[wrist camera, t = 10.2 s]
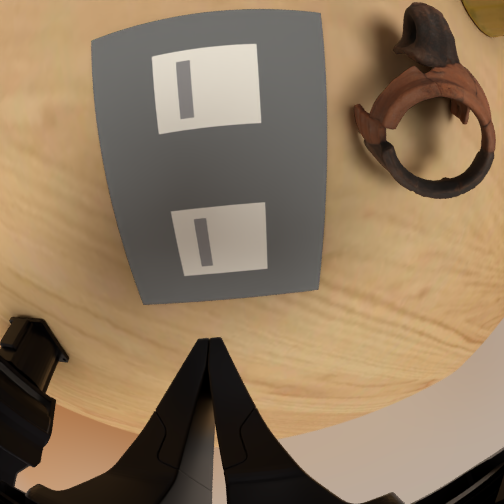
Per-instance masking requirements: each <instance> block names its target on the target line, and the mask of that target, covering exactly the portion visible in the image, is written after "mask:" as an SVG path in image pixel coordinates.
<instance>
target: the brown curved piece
mask: <svg viewBox="0 0 504 504" xmlns="http://www.w3.org/2000/svg"><path fill="white" fill-rule="evenodd" d="M393 51H394V52H395V53H396V54H406V55H407V56H408V57H410V58H411V59H413V60H415V61H416V62H418V63H419V64H421V65H424V66H430V67H433V69H431V71H429V72H427V73H425V74H424V73H422V72H421V71H420V70H419V69H418V68H417V67H416V66H412V67H410V68H408V69H407V70H406V71H404V72H403V73H402V74H400V76H398V77H396V78H395V79H394V80H392V81H391V82H390V84H389V85H388V86H387V87H386V88H385V90H384V91H383V92H382V93H381V94H380V95H379V96H378V98H377V99H376V101H375V102H374V104H373V107H372V109H371V111H370V114H369V113H367V112H366V111H365V110H364V108H363V107H362V106H361V105H360V104H357V105H355V106H354V113H355V120H356V124H357V126H358V129H359V133H360V134H361V135H362V137H363V138H364V143H365V146H366V147H367V148H368V150H369V151H370V152H371V153H372V155H373V156H374V157H375V158H376V159H377V160H378V161H379V163H380V164H381V165H382V166H383V167H384V168H385V169H387V170H388V171H389V172H390V173H391V175H392V176H393V177H394V179H395V180H396V181H397V182H398V183H399V184H400V185H402V186H403V187H405V188H407V189H408V190H410V191H414V192H415V193H416V194H419V195H421V196H423V197H430V198H435V199H446V198H452V197H457V196H459V195H460V194H464V193H466V192H468V191H470V190H471V189H473V188H475V186H477V185H478V184H479V183H480V182H481V181H482V180H483V179H484V177H485V176H486V174H487V173H488V171H489V169H490V167H491V165H492V162H493V159H494V150H495V143H496V139H495V130H494V126H493V123H492V119H491V112H490V107H489V104H488V101H487V98H486V96H485V93H484V91H483V89H482V88H481V86H480V85H479V83H478V81H477V80H476V79H475V78H474V76H473V75H472V74H471V73H470V72H469V71H468V69H466V68H465V67H463V66H462V65H461V64H460V62H459V59H458V55H457V51H456V46H455V39H454V36H453V34H452V32H451V30H450V28H449V25H448V23H447V21H446V20H445V18H444V17H443V14H442V13H441V12H440V11H438V10H437V9H435V8H434V7H432V6H429V5H427V4H425V3H417V2H414V3H412V4H411V5H410V6H409V7H408V8H407V9H406V11H405V14H404V21H403V35H402V38H401V40H400V41H399V43H398V44H397V45H396V46H395V47H394V49H393ZM439 96H442V97H447V98H451V101H452V103H451V113H452V114H453V115H455V116H456V117H458V118H459V119H460V120H461V122H462V123H463V124H467V122H468V118H469V112H470V110H471V111H472V112H473V113H474V114H475V116H476V117H477V119H478V121H479V124H480V126H481V132H482V140H481V149H480V152H478V153H477V155H476V157H475V159H474V160H473V162H472V164H471V165H470V167H469V168H468V169H467V170H466V171H465V172H464V173H462V174H461V175H459V176H457V177H454V178H446V177H445V178H442V179H441V180H437V181H432V180H426V179H422V178H420V177H417V176H415V175H413V174H412V173H410V172H409V171H408V170H407V169H406V168H404V167H403V165H402V164H401V163H400V161H399V160H398V158H397V156H396V153H395V150H394V147H393V145H392V144H391V143H389V142H387V141H386V128H388V129H396V127H397V125H398V123H399V122H400V120H401V119H402V117H403V116H404V114H405V113H406V112H407V110H408V109H410V108H411V107H412V106H414V105H415V104H417V103H419V102H421V101H423V100H426V99H430V98H434V97H439Z"/></svg>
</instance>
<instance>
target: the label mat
mask: <svg viewBox="0 0 504 504" xmlns="http://www.w3.org/2000/svg"><path fill="white" fill-rule="evenodd" d="M91 51H92V77H93V91H94V102H95V112H96V120H97V128H98V135H99V141H100V147H101V153H102V159H103V164H104V169H105V174H106V179H107V184H108V188H109V193H110V197H111V201H112V206H113V210H114V214H115V217H116V221H117V225H118V229H119V232H120V236H121V239H122V243H123V246H124V249H125V252H126V256H127V259H128V262H129V265H130V268H131V271H132V274H133V277H134V280H135V283H136V286H137V288H138V291H139V294H140V297H141V299H142V302H143V305H149V304H168V303H184V302H199V301H212V300H225V299H236V298H247V297H258V296H268V295H277V294H286V293H295V292H304V291H312V290H318V289H319V280H320V270H321V259H322V248H323V235H324V220H325V202H326V177H327V95H326V72H325V56H324V42H323V31H322V21H321V13H316V12H307V11H296V10H278V9H243V10H225V11H214V12H204V13H197V14H190V15H183V16H178V17H172V18H167V19H162V20H158V21H153V22H149V23H145V24H141V25H137V26H134V27H130V28H127V29H124V30H120V31H117V32H114V33H111V34H108V35H105V36H103V37H100V38H97V39H95V40H92V41H91Z"/></svg>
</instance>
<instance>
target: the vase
mask: <svg viewBox="0 0 504 504" xmlns="http://www.w3.org/2000/svg"><path fill="white" fill-rule="evenodd" d="M462 2H463V4H464V6H465V8H466V10H467V12H468V14H469V15H470V17H471V18H472V20H473V21H474V23H475V24H476V25H477V26H478V27H479V29H480V30H481V31H483V32H484V33H485V34H486V35H488V36H490V37H499V36H504V0H462Z"/></svg>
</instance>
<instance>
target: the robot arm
mask: <svg viewBox="0 0 504 504" xmlns="http://www.w3.org/2000/svg"><path fill="white" fill-rule="evenodd" d="M9 321H10V323H11V325H10V327H9V328H8V330H7V332H6V333H5V335H4V336H3V338H2V340H1V342H0V345H1V348H0V504H212V480H213V454H214V433H215V425H216V432H217V438H218V444H219V449H220V455H221V460H222V466H223V470H224V476H225V483H226V495H227V504H352V503H348V502H346V501H344V500H342V499H340V498H339V497H338V496H336V495H335V494H333V493H332V492H330V491H329V490H328V489H326V488H325V487H323V486H322V485H321V484H319V483H318V482H316V481H315V480H314V479H313V478H311V477H310V476H309V475H308V474H307V473H305V471H304V470H303V469H302V468H300V466H299V465H298V464H297V463H296V462H295V461H294V460H293V459H292V457H291V456H290V455H289V454H288V452H287V451H286V450H285V449H284V448H283V446H282V445H281V444H280V443H279V442H278V440H277V439H276V438H275V436H274V435H273V434H272V432H271V431H270V430H269V428H268V427H267V425H266V423H265V422H264V420H263V418H262V417H261V415H260V413H259V411H258V409H257V408H256V406H255V404H254V402H253V400H252V398H251V396H250V395H249V393H248V391H247V389H246V387H245V385H244V383H243V381H242V379H241V377H240V375H239V373H238V371H237V369H236V367H235V365H234V363H233V361H232V359H231V357H230V355H229V353H228V351H227V349H226V346H225V344H224V342H223V340H222V338H221V337H216V338H210V339H209V338H203V339H198V340H197V342H196V343H195V345H194V347H193V348H192V350H191V352H190V353H189V355H188V357H187V358H186V360H185V362H184V363H183V365H182V367H181V368H180V370H179V372H178V373H177V375H176V376H175V378H174V380H173V381H172V383H171V385H170V386H169V388H168V390H167V391H166V393H165V395H164V396H163V398H162V400H161V401H160V403H159V405H158V406H157V408H156V411H154V413H153V415H152V416H151V418H150V420H149V421H148V423H147V424H146V426H145V427H144V429H143V430H142V432H141V433H140V434H139V436H138V437H137V438H136V440H135V441H134V442H133V443H132V445H131V446H130V447H129V448H128V450H127V451H126V452H125V453H124V455H123V456H122V457H121V458H120V459H119V461H118V462H117V463H116V464H115V465H114V466H113V467H112V468H111V469H110V470H108V471H107V472H105V473H103V474H101V475H99V476H97V477H95V478H93V479H91V480H89V481H86V482H84V483H81V484H79V485H77V486H74V487H72V488H69V489H66V490H61V491H55V490H51V489H49V488H47V487H45V486H43V485H41V484H37V485H35V486H33V487H32V488H30V489H29V490H28V491H27V493H25V492H23V491H21V490H19V489H17V488H15V487H14V486H15V481H16V476H17V474H18V473H19V472H21V471H22V470H24V469H25V468H27V467H28V466H32V467H36V466H37V465H38V464H39V463H40V461H41V456H42V450H43V447H44V446H45V445H46V444H47V443H48V441H49V439H50V436H51V433H52V427H53V418H54V411H55V404H56V400H55V399H53V398H51V397H50V396H48V395H47V394H46V391H47V388H48V385H49V383H50V380H51V378H52V375H53V373H54V371H55V368H56V366H57V363H58V361H60V362H68V361H69V357H68V356H67V355H66V353H65V352H64V350H63V349H62V348H61V346H60V345H59V343H58V342H57V340H56V339H55V337H54V336H53V334H52V333H51V331H50V329H49V328H48V326H47V325H46V323H45V322H44V321H43V320H41V319H26V318H11V319H10V320H9ZM360 504H404V503H403V501H402V500H400V498H399V497H398V496H396V494H395V493H393V492H391V493H388V494H386V495H383V496H381V497H378V498H376V499H373V500H370V501H367V502H364V503H360ZM411 504H504V448H502V449H500V450H499V451H498V452H496V453H495V454H493V455H492V456H490V457H488V458H487V459H485V460H484V461H482V462H480V463H479V464H478V465H476V466H474V467H473V468H471V469H469V470H468V471H466V472H465V473H463V474H462V475H460V476H458V477H457V478H455V479H454V480H452V481H451V482H449V483H448V484H446V485H444V486H443V487H441V488H439V489H437V490H436V491H434V492H432V493H430V494H428V495H427V496H425V497H423V498H421V499H419V500H417V501H415V502H413V503H411Z"/></svg>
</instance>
